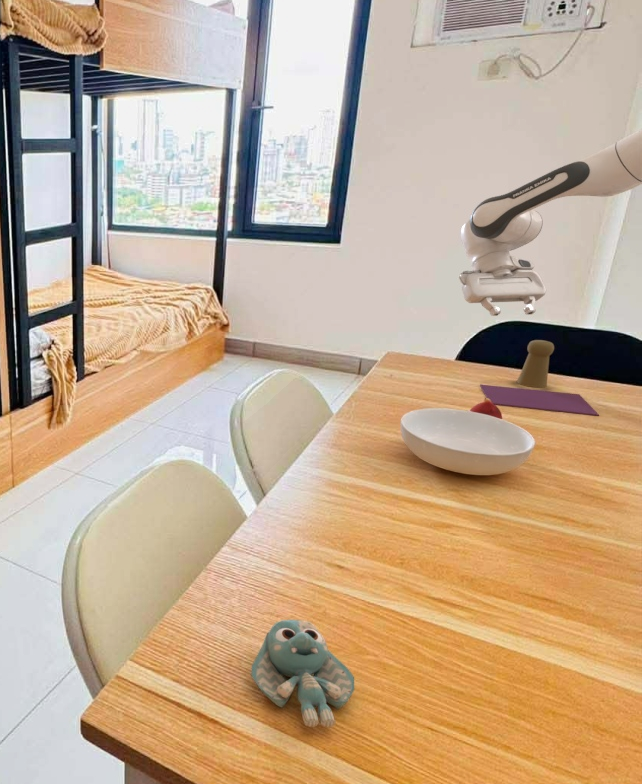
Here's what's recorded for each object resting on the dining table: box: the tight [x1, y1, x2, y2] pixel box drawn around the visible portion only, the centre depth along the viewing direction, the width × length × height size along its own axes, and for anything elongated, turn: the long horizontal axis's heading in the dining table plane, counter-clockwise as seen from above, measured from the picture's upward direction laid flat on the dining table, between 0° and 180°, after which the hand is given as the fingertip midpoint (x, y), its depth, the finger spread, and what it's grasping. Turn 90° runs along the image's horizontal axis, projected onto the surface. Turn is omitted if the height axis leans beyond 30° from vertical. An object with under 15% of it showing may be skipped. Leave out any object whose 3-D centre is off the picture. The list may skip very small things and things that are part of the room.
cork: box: [516, 339, 555, 389], centre depth 155 cm, size 6×6×11 cm
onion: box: [469, 397, 503, 420], centre depth 126 cm, size 6×6×8 cm
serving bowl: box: [400, 407, 536, 476], centre depth 115 cm, size 21×21×7 cm
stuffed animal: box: [250, 619, 355, 728], centre depth 66 cm, size 11×7×12 cm
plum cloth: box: [479, 383, 600, 417], centre depth 146 cm, size 20×14×1 cm
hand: (513, 313), depth 162 cm, fingers open, 8 cm apart
